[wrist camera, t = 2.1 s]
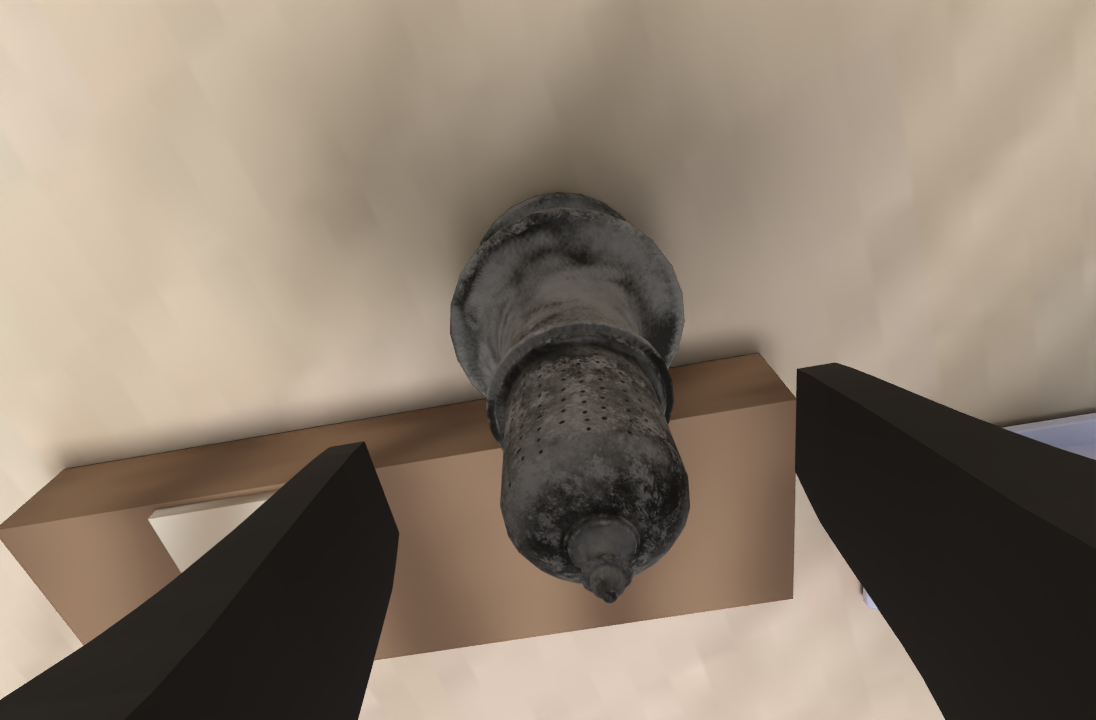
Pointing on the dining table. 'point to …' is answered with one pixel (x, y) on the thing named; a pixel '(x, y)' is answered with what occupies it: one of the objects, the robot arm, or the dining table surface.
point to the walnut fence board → (435, 519)
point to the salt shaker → (577, 386)
